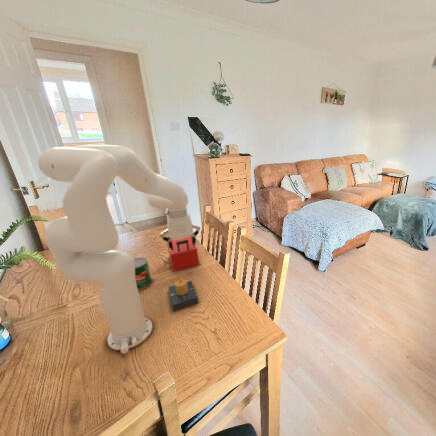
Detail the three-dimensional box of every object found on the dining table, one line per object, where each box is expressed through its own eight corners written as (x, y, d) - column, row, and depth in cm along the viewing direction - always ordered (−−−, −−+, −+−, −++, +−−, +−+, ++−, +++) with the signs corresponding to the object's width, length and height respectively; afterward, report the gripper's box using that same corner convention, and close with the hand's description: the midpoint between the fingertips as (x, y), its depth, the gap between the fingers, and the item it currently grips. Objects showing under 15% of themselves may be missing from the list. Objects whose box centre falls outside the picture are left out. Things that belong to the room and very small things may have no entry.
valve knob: (189, 293, 95) (187, 283, 93) (177, 297, 93) (175, 287, 91) (187, 287, 98) (185, 277, 97) (175, 290, 96) (173, 280, 94)
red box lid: (197, 250, 115) (196, 239, 112) (170, 256, 109) (169, 245, 107) (191, 238, 126) (189, 228, 124) (166, 242, 120) (165, 232, 118)
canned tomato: (146, 276, 109) (141, 255, 104) (155, 282, 105) (150, 261, 100) (127, 285, 103) (121, 263, 98) (136, 292, 99) (130, 270, 94)
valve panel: (198, 303, 94) (197, 296, 93) (173, 311, 90) (172, 304, 89) (191, 286, 104) (191, 280, 103) (169, 292, 99) (168, 286, 98)
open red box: (198, 264, 119) (197, 249, 115) (173, 271, 113) (170, 255, 109) (193, 252, 129) (191, 238, 126) (169, 257, 123) (166, 243, 120)
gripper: (156, 219, 98) (163, 254, 105) (200, 212, 107) (203, 245, 114) (155, 213, 104) (161, 247, 111) (196, 207, 113) (200, 239, 120)
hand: (183, 246), depth 112 cm, fingers open, 9 cm apart
